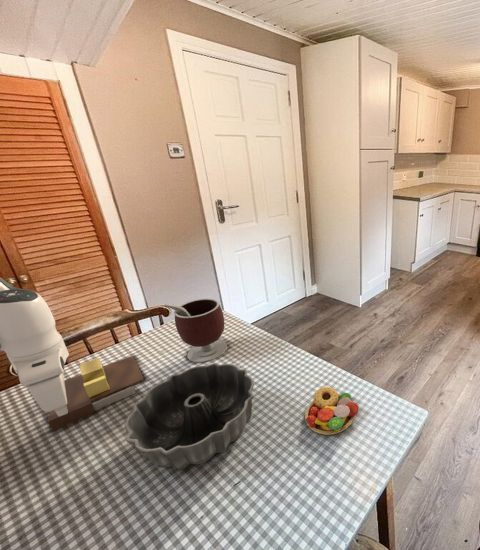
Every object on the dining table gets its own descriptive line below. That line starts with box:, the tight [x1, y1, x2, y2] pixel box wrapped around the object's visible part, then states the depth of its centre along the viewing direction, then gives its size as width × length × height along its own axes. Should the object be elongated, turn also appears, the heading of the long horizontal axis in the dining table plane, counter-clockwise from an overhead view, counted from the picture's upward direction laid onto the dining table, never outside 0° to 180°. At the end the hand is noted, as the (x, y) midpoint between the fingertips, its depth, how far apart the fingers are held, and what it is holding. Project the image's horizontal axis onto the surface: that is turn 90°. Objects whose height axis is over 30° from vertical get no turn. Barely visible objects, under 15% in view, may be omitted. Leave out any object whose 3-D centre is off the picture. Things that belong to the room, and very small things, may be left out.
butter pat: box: [84, 376, 110, 398], centre depth 84 cm, size 4×2×4 cm, turn 135°
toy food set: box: [304, 386, 360, 436], centre depth 78 cm, size 13×13×3 cm
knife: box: [47, 385, 137, 432], centre depth 79 cm, size 17×2×4 cm, turn 136°
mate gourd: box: [164, 298, 228, 363], centre depth 100 cm, size 16×14×20 cm
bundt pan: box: [124, 362, 255, 471], centre depth 72 cm, size 26×26×10 cm
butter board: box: [49, 355, 145, 416], centre depth 88 cm, size 20×16×5 cm
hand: (62, 402), depth 75 cm, fingers open, 8 cm apart
